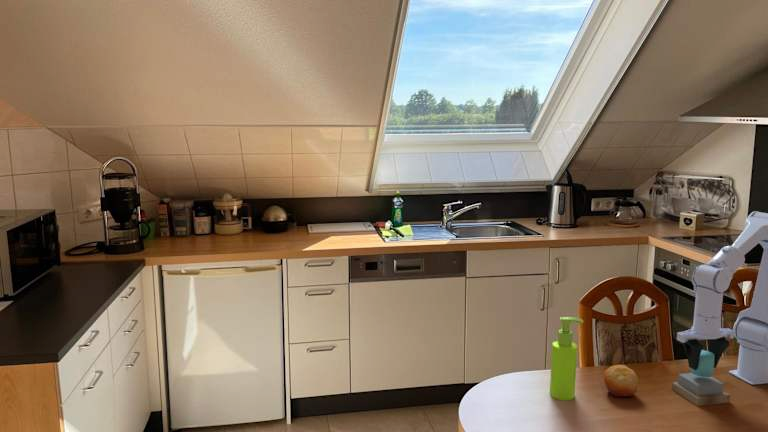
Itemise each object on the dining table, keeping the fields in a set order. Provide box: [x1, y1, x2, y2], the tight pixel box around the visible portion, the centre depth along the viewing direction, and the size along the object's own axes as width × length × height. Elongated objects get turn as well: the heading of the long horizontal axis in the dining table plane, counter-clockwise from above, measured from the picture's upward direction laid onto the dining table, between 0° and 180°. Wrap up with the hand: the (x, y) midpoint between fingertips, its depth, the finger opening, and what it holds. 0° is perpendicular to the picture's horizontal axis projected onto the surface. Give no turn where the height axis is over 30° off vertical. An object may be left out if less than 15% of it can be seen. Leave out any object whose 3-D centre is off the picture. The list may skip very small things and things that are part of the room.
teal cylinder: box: [689, 349, 715, 377], centre depth 146 cm, size 5×5×5 cm
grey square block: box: [677, 372, 725, 396], centre depth 146 cm, size 7×7×2 cm
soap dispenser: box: [549, 316, 584, 401], centre depth 145 cm, size 6×7×20 cm
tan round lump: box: [603, 364, 640, 398], centre depth 148 cm, size 8×8×8 cm
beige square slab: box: [671, 381, 731, 407], centre depth 147 cm, size 9×9×2 cm
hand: (702, 367), depth 146 cm, fingers closed on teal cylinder, 5 cm apart
